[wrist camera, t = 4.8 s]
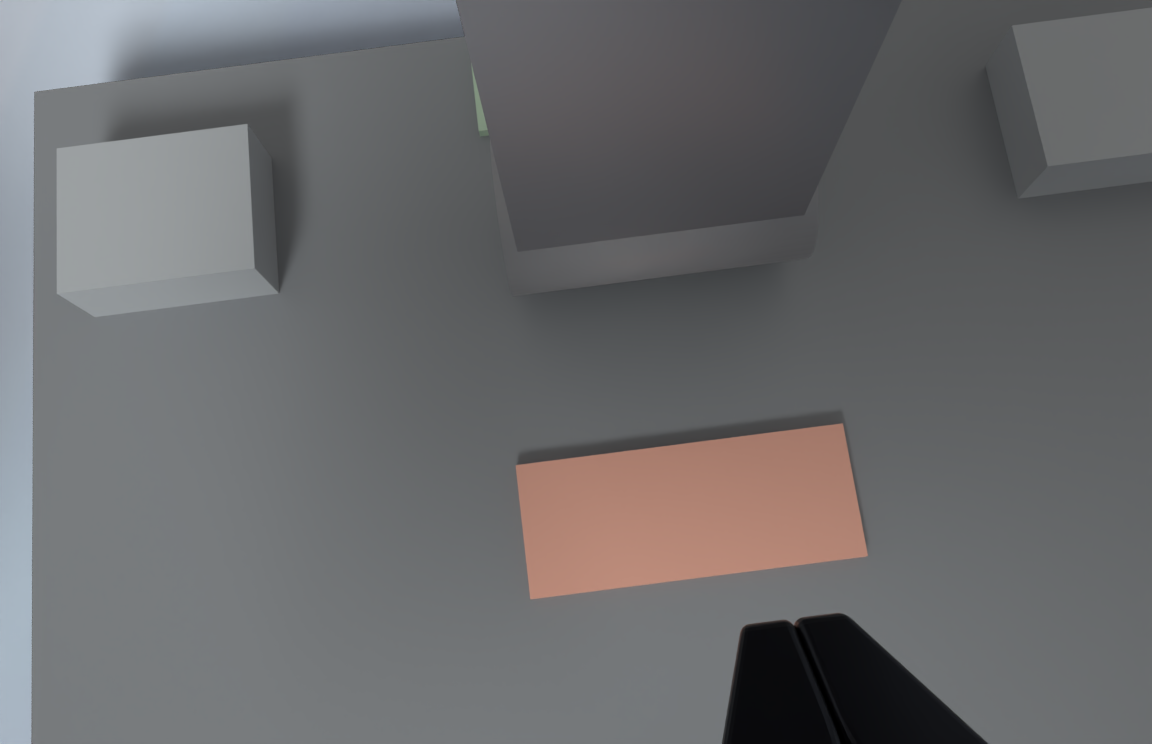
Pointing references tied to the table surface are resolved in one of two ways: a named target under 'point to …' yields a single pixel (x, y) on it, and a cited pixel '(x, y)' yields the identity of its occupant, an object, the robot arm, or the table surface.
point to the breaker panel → (589, 410)
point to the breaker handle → (663, 129)
